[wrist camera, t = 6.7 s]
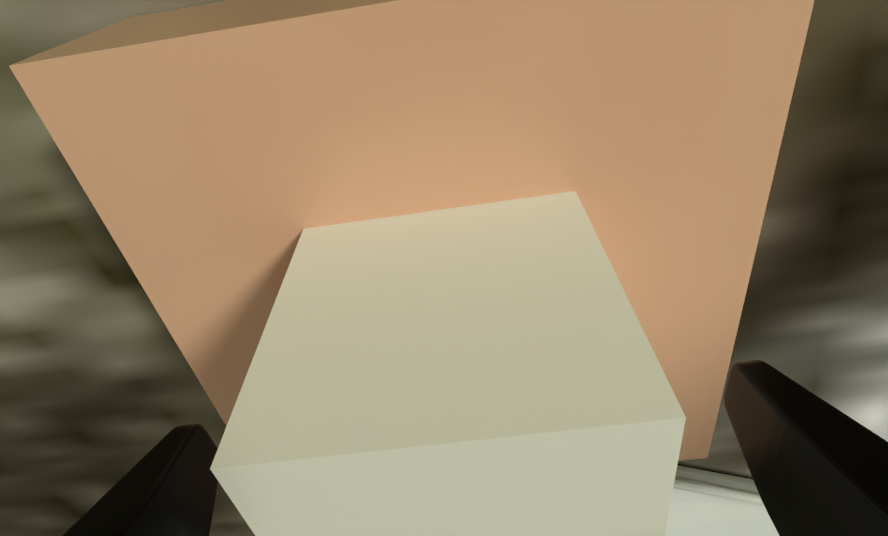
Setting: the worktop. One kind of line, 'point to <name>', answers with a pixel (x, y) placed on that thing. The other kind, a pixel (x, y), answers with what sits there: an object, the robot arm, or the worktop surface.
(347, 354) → the block
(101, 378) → the worktop surface
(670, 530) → the salad plate
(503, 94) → the stand
